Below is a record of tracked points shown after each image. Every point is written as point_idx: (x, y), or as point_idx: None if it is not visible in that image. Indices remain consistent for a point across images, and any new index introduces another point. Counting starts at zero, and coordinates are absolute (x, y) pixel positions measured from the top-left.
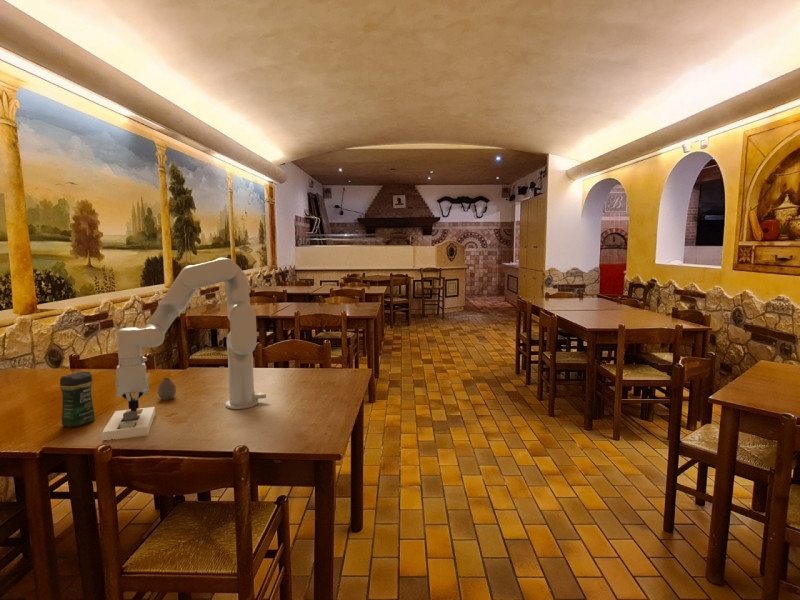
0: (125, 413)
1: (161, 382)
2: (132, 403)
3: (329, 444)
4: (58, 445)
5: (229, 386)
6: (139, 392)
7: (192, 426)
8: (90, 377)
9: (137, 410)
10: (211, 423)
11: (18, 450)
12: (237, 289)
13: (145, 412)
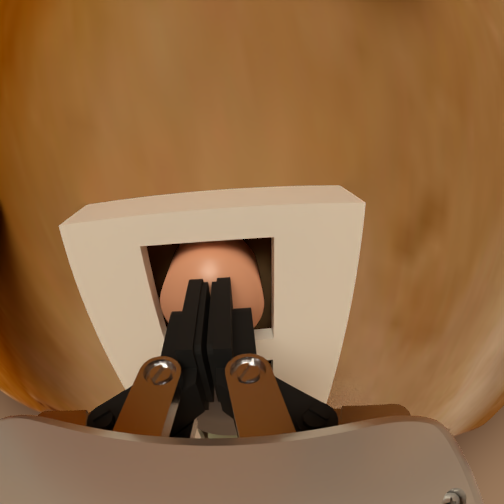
0: (200, 419)
1: None
2: (213, 388)
3: (496, 410)
4: (63, 409)
5: None
6: (288, 430)
7: (433, 373)
8: None
9: (241, 307)
10: (472, 354)
11: (6, 392)
12: None
13: (301, 323)
